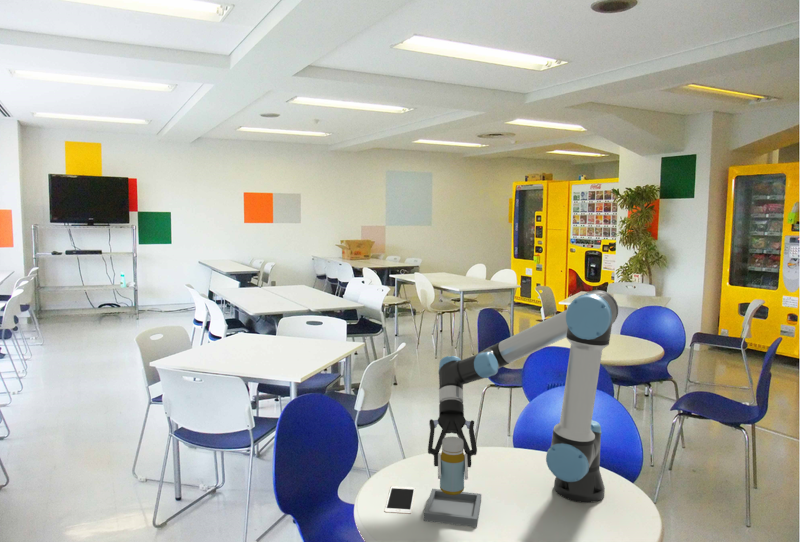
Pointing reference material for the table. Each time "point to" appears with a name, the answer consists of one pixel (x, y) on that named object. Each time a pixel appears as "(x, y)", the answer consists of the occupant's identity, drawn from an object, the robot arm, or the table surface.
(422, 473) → the table surface
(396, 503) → the cell phone
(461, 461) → the bottle
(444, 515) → the tray
